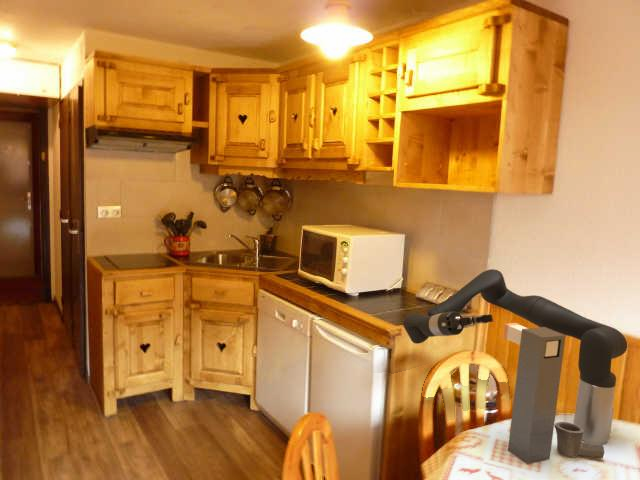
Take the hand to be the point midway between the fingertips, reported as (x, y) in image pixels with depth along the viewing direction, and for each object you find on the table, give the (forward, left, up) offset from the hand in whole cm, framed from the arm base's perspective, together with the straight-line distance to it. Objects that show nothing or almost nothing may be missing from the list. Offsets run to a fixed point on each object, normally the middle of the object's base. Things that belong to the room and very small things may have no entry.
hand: (481, 319), depth 149 cm
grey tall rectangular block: (-3, +20, -32) cm, 38 cm away
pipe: (-17, +24, -33) cm, 44 cm away
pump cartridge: (-3, +16, -3) cm, 17 cm away
